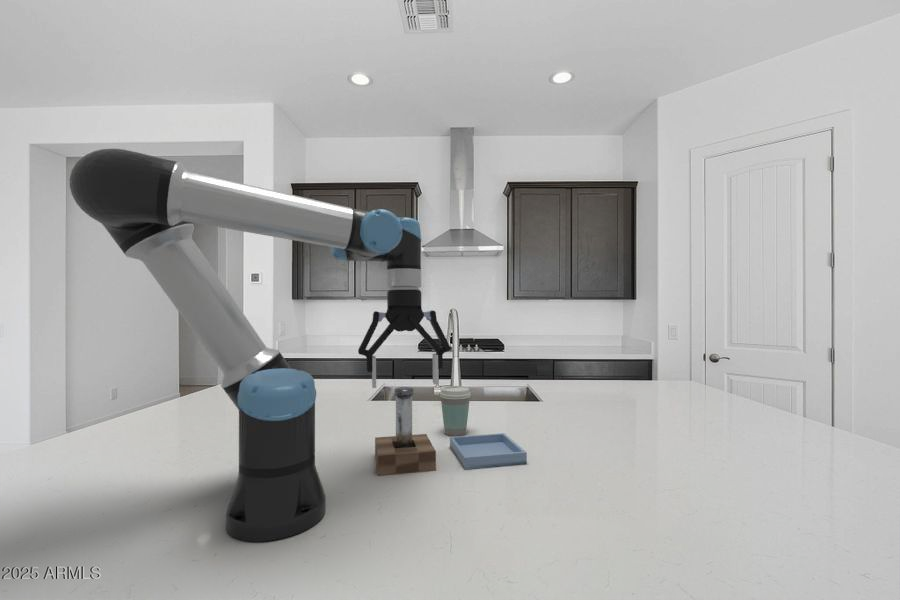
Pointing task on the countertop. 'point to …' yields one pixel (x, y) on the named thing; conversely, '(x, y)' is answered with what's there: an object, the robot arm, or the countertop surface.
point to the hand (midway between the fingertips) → (405, 385)
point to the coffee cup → (455, 409)
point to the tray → (487, 451)
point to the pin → (403, 416)
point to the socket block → (404, 455)
